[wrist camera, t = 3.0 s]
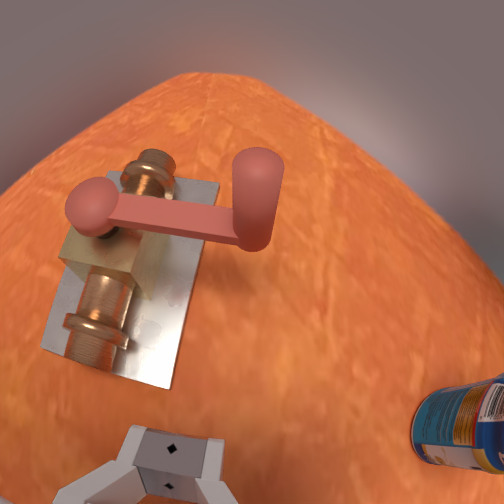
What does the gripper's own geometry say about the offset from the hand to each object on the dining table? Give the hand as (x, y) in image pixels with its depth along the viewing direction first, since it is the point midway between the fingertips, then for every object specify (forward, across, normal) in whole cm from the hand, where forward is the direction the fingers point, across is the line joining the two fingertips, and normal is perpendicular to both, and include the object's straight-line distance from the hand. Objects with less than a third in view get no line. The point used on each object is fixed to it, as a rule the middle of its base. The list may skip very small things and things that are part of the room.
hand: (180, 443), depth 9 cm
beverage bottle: (+12, -22, +14) cm, 29 cm away
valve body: (+22, +10, +3) cm, 25 cm away
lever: (+15, +5, -3) cm, 16 cm away
